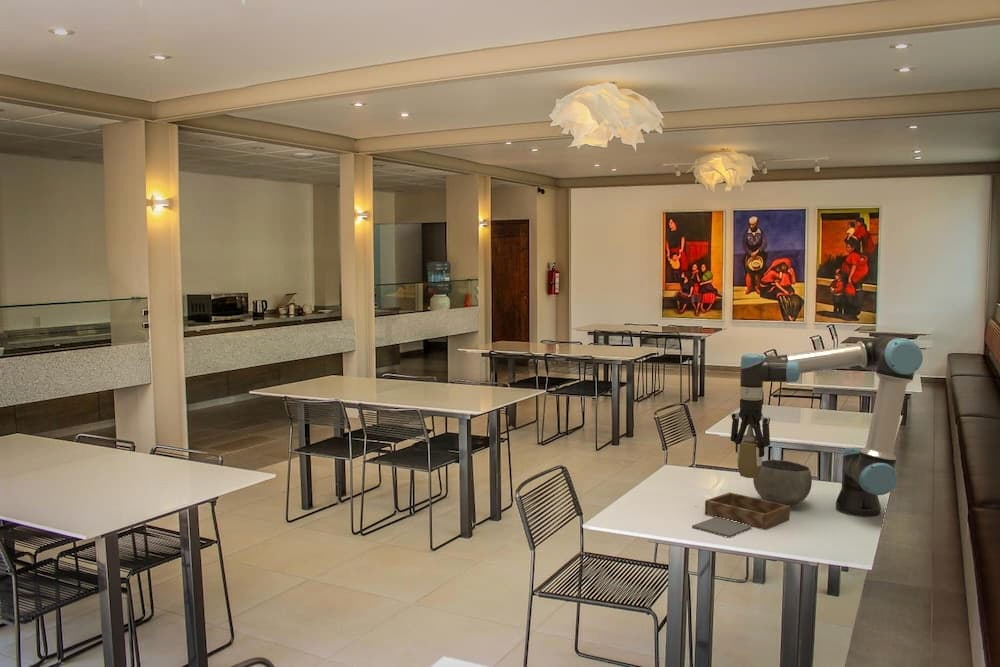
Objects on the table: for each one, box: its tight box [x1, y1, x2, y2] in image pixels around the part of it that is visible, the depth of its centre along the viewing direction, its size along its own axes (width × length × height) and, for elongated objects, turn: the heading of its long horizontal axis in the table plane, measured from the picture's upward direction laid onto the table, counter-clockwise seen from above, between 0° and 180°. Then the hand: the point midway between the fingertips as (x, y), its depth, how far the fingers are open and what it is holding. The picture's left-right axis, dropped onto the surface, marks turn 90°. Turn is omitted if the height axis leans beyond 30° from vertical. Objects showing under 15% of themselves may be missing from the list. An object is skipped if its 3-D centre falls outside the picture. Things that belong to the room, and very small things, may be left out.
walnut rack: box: [704, 491, 791, 531], centre depth 291 cm, size 23×16×5 cm
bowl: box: [752, 459, 813, 506], centre depth 308 cm, size 20×20×15 cm
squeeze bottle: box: [737, 425, 761, 479], centre depth 289 cm, size 8×8×18 cm
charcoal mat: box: [691, 517, 752, 538], centre depth 278 cm, size 14×14×1 cm
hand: (749, 463), depth 290 cm, fingers closed on squeeze bottle, 6 cm apart
